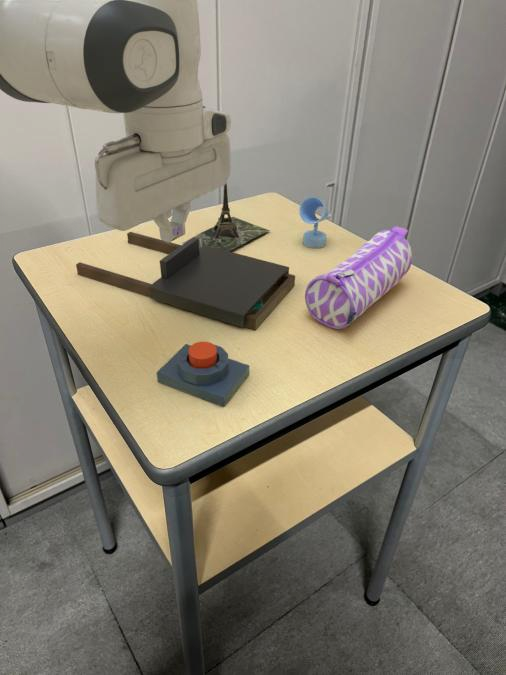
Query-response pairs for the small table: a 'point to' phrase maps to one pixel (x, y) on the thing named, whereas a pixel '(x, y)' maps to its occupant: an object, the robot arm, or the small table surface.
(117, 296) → the small table surface
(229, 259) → the lid
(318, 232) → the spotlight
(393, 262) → the pencil case
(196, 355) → the button
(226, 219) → the eiffel tower figurine
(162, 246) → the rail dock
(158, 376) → the button block
